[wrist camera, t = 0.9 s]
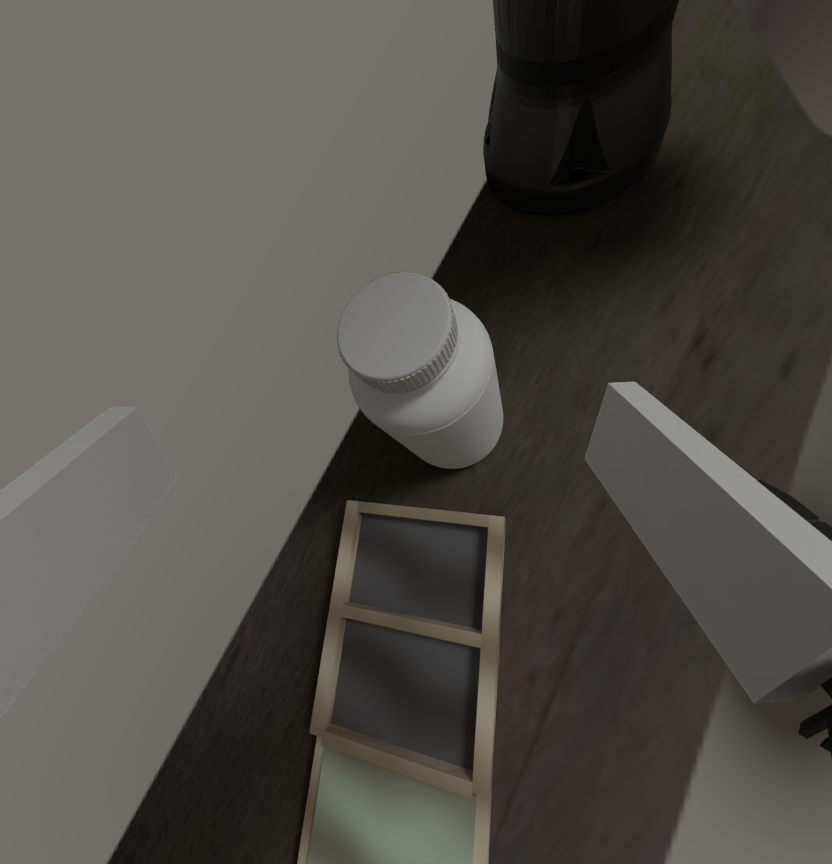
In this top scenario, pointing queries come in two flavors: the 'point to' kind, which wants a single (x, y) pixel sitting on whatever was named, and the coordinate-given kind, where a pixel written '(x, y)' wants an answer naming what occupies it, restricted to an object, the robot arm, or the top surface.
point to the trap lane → (407, 690)
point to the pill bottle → (422, 369)
